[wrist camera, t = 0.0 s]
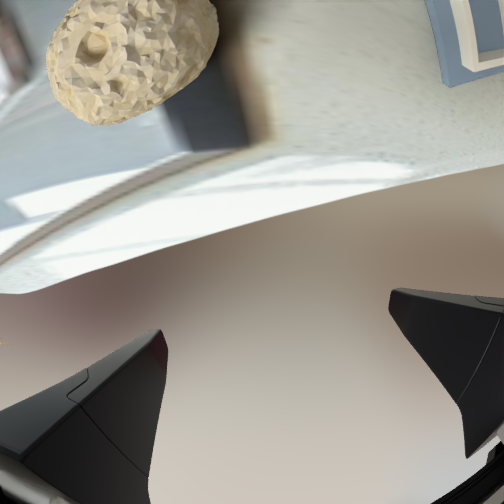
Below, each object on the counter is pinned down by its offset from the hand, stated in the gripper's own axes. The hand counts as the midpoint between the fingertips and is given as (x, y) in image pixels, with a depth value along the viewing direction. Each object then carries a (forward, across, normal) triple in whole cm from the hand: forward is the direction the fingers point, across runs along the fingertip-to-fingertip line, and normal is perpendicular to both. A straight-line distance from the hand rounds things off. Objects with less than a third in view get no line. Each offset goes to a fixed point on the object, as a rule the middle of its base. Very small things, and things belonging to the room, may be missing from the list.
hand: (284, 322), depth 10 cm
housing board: (+4, +18, +22) cm, 29 cm away
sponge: (+9, -5, +15) cm, 18 cm away
